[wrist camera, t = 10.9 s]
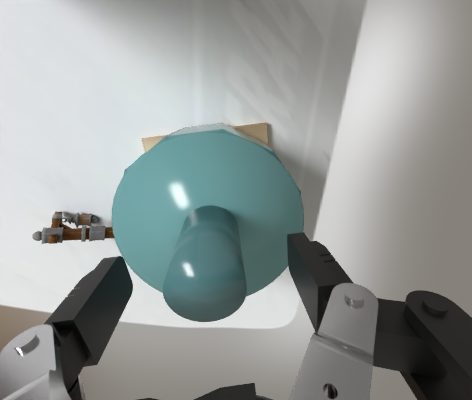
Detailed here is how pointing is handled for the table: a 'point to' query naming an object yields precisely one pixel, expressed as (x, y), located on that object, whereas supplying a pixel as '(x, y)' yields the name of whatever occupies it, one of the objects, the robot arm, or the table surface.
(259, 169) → the teal lid with knob
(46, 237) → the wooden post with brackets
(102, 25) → the table surface
